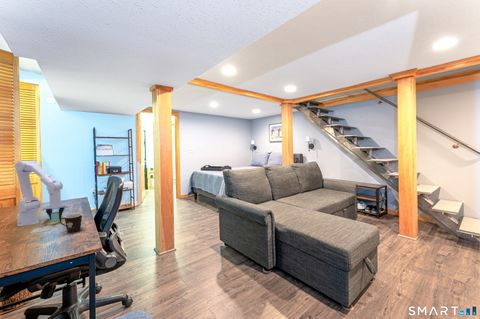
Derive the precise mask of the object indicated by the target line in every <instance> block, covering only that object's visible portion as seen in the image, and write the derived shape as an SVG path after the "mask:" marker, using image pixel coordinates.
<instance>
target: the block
mask: <svg viewBox="0 0 480 319" xmlns="http://www.w3.org/2000/svg"><path fill="white" fill-rule="evenodd" d="M59 221H60V219H59V211H52V213H51V223H52V222H59Z"/></svg>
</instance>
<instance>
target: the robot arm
mask: <svg viewBox="0 0 480 319" xmlns="http://www.w3.org/2000/svg"><path fill="white" fill-rule="evenodd" d="M14 167H15V171H16V174H17V177H18V182H19V187H20V192H21V195H22V198H21V199H20V200H19V201H18V211H19V212H18V213H17V217H16V218H17V220H16V221H17V227H23V226H31V225H37V224H38V223H39V222H40V220H39V219H38V210H39V209H40V212H41V211H45V212H46V214H47V216H48V218H50V220H51V213H52V212H53V210H58V212H59V219H61V217H63V216H62V215H63V213H64V210H65V209H69V208H70V204H62V201H61V200H62V198H61V195H62V194H61V190H62V189H63V183H62V182H61V181H59V180H56V179H55V178H54V177H52V175H51V174H46V173H45V171H44V170H43V169H42V168H41V166H40V163H39V162H38V161H37V160H19V161H17V162H16V164H15V166H14ZM31 173H34V174H35V175H37V177H39V179H40V181H41V182H42V183H43V184H44V185H45V186H46V190H47V192H48V194H49V195H48V196H49V206H41V205H42V204H41V202H40V201H39V198H38V197H36V196H35V194H34V192H33V186H32V182H31V178H30V174H31Z"/></svg>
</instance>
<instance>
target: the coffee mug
mask: <svg viewBox="0 0 480 319" xmlns="http://www.w3.org/2000/svg"><path fill="white" fill-rule="evenodd" d="M62 219H65V222H66V225H64V224H63V223H62V222H61V220H62ZM82 220H83V213H72V214H68V215H65V218H61V219H60V223H61V224H62V225H61V226H64V227H66V233H67V234H75V233H79V232H80V231H81V229H82V228H81V227H82Z"/></svg>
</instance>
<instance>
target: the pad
mask: <svg viewBox="0 0 480 319" xmlns="http://www.w3.org/2000/svg"><path fill="white" fill-rule="evenodd" d="M53 227H54V226H50V227H43V228H42V227H37V228H34V229H32V230H31V232H29V234H37V233H45V232H50V230H51V229H52V228H53Z"/></svg>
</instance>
